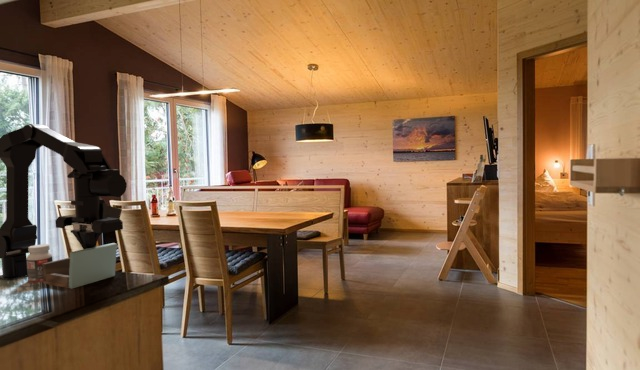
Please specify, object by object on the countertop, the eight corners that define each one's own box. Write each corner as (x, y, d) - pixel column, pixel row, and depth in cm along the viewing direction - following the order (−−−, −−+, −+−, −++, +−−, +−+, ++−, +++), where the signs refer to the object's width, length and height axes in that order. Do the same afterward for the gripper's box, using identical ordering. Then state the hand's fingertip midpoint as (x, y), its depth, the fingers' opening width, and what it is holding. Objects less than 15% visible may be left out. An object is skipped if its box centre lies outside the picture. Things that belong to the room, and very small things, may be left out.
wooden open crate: (43, 286, 110) (42, 263, 109) (87, 274, 120) (86, 253, 120) (68, 291, 105) (66, 267, 105) (111, 278, 116) (110, 256, 115)
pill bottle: (41, 286, 110) (38, 248, 110) (22, 285, 111) (19, 248, 111) (59, 280, 116) (56, 243, 115) (41, 279, 117) (38, 243, 116)
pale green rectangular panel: (68, 287, 105) (70, 252, 104) (111, 274, 116) (113, 242, 114) (71, 288, 104) (73, 253, 103) (114, 276, 115) (116, 243, 114)
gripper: (139, 194, 111) (141, 253, 113) (92, 191, 120) (95, 246, 121) (100, 198, 102) (103, 263, 103) (52, 195, 110) (56, 255, 111)
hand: (90, 256), depth 110 cm, fingers closed
